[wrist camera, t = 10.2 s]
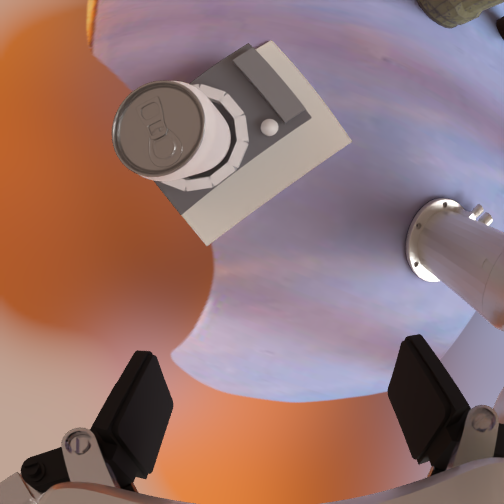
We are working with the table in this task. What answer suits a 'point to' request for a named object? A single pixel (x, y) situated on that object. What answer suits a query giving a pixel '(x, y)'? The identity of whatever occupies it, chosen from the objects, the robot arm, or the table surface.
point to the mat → (271, 158)
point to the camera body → (240, 119)
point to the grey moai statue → (455, 10)
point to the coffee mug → (500, 26)
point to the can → (169, 131)
